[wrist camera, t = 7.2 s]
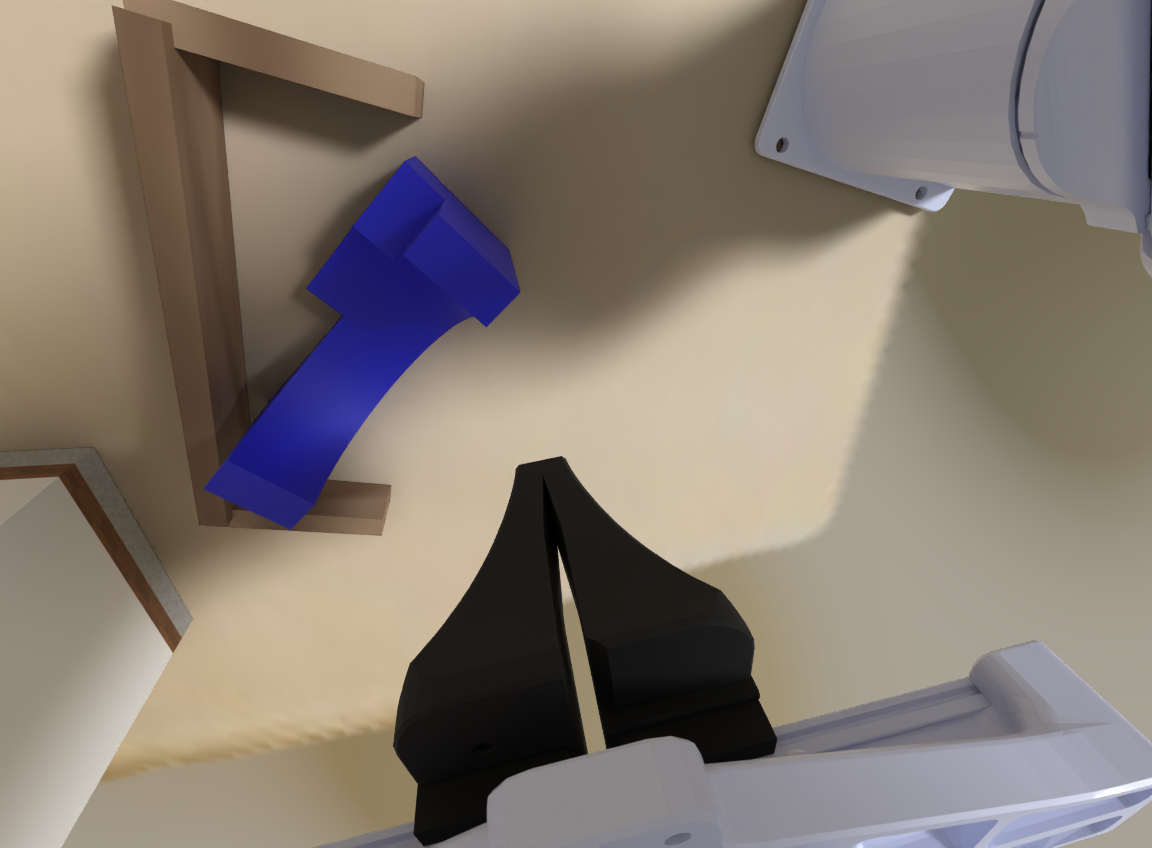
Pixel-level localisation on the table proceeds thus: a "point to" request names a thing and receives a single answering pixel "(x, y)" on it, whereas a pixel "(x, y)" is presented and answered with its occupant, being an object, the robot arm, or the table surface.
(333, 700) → the table surface
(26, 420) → the table surface
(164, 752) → the table surface
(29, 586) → the display case
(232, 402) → the frame
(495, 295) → the cable clip
